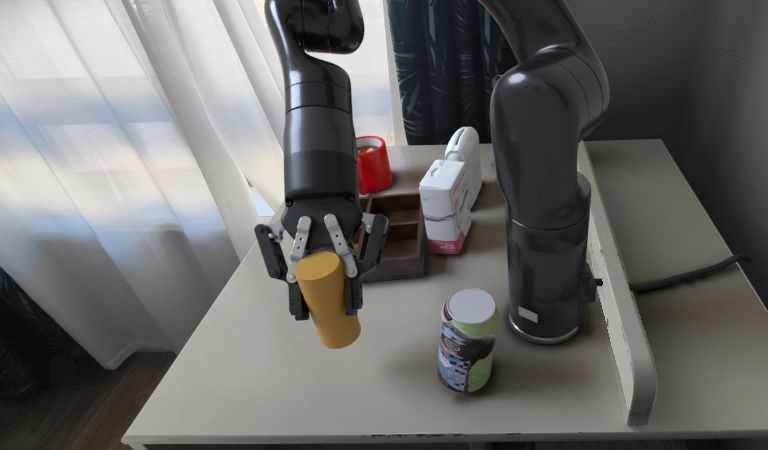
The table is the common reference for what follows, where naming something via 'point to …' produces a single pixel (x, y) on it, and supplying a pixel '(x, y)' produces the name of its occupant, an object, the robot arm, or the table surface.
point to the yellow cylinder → (327, 299)
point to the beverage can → (467, 339)
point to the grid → (395, 236)
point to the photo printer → (467, 158)
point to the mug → (372, 164)
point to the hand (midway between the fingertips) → (327, 317)
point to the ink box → (446, 206)
